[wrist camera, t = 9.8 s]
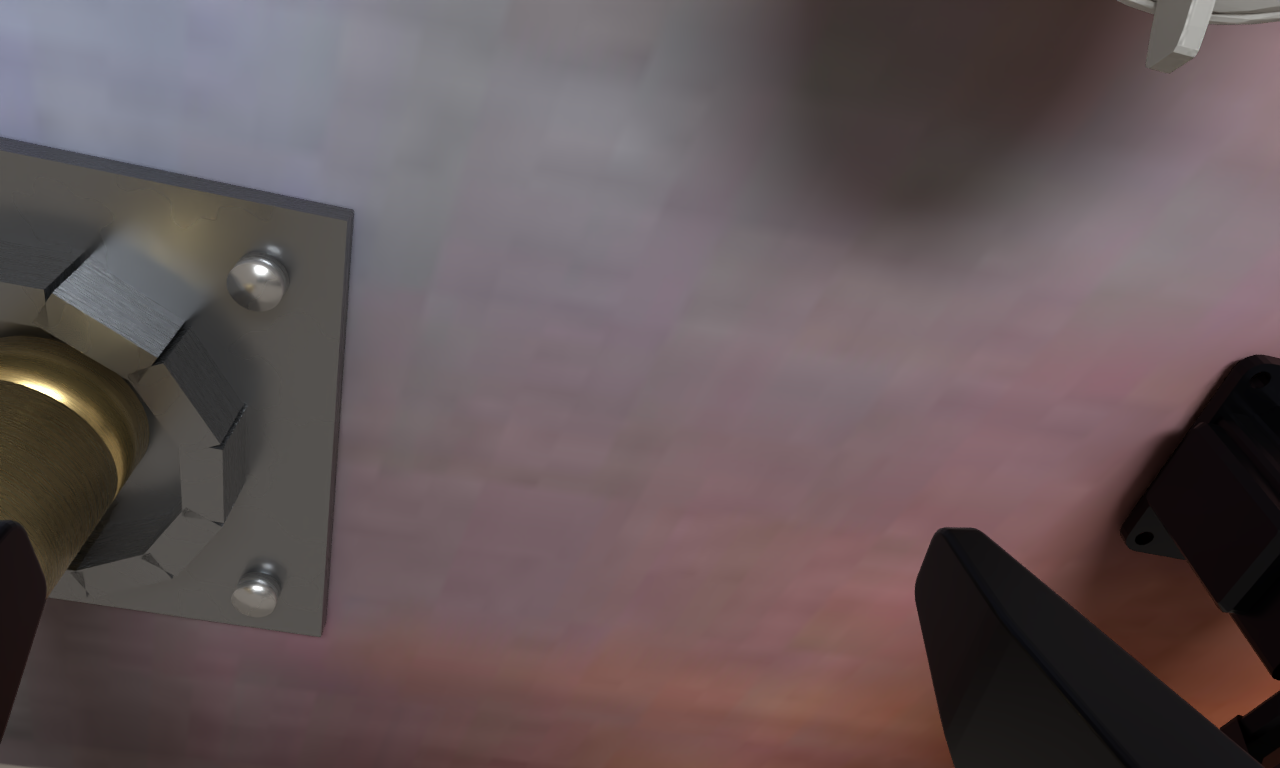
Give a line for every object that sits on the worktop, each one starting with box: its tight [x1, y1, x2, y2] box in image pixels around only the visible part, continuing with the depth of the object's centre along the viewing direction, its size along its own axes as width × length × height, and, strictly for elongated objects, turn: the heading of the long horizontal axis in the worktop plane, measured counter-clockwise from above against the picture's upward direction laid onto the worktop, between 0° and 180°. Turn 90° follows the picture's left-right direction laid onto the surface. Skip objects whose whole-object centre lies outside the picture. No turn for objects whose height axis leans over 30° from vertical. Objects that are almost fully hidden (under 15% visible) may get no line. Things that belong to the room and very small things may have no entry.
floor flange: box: [0, 137, 354, 637], centre depth 23 cm, size 14×14×2 cm
